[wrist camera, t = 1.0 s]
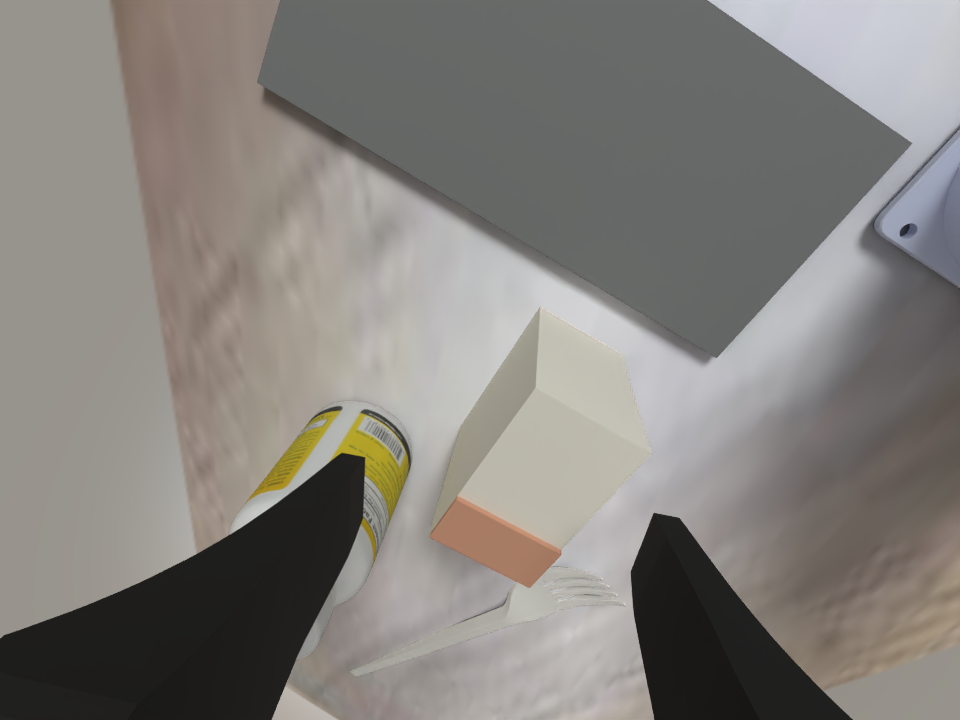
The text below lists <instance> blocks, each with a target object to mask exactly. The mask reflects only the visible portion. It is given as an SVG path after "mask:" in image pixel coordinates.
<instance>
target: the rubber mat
mask: <svg viewBox="0 0 960 720" xmlns="http://www.w3.org/2000/svg"><path fill="white" fill-rule="evenodd" d="M257 83H259V84H260V85H262V86H264V87H265V88H267V89H269V90H270V91H272V92H274V93H275V94H277V95H279V96H280V97H282V98H284V99H285V100H287V101H289V102H290V103H292V104H294V105H295V106H297V107H299V108H300V109H302V110H304V111H305V112H307V113H309V114H310V115H312V116H314V117H315V118H317V119H319V120H320V121H322V122H324V123H325V124H327V125H329V126H330V127H332V128H334V129H335V130H337V131H339V132H340V133H342V134H344V135H345V136H347V137H349V138H350V139H352V140H354V141H355V142H357V143H359V144H360V145H362V146H364V147H365V148H367V149H369V150H370V151H372V152H374V153H375V154H377V155H379V156H380V157H382V158H384V159H385V160H387V161H389V162H390V163H392V164H394V165H395V166H397V167H399V168H400V169H402V170H404V171H405V172H407V173H409V174H410V175H412V176H414V177H415V178H417V179H419V180H420V181H422V182H424V183H425V184H427V185H429V186H430V187H432V188H434V189H435V190H437V191H439V192H440V193H442V194H444V195H445V196H447V197H449V198H450V199H452V200H454V201H455V202H457V203H459V204H460V205H462V206H464V207H465V208H467V209H469V210H470V211H472V212H474V213H475V214H477V215H479V216H480V217H482V218H484V219H485V220H487V221H489V222H490V223H492V224H494V225H495V226H497V227H499V228H500V229H502V230H504V231H505V232H507V233H509V234H510V235H512V236H514V237H515V238H517V239H519V240H520V241H522V242H524V243H525V244H527V245H529V246H530V247H532V248H534V249H535V250H537V251H539V252H540V253H542V254H544V255H545V256H547V257H549V258H550V259H552V260H554V261H555V262H557V263H559V264H560V265H562V266H564V267H565V268H567V269H569V270H570V271H572V272H574V273H575V274H577V275H579V276H580V277H582V278H584V279H585V280H587V281H589V282H590V283H592V284H594V285H595V286H597V287H599V288H600V289H602V290H604V291H605V292H607V293H609V294H610V295H612V296H614V297H615V298H617V299H619V300H620V301H622V302H624V303H625V304H627V305H629V306H630V307H632V308H634V309H635V310H637V311H639V312H640V313H642V314H644V315H645V316H647V317H649V318H650V319H652V320H654V321H655V322H657V323H659V324H661V325H662V326H664V327H666V328H667V329H669V330H671V331H672V332H674V333H676V334H677V335H679V336H681V337H682V338H684V339H686V340H687V341H689V342H691V343H692V344H694V345H696V346H697V347H699V348H701V349H702V350H704V351H706V352H707V353H709V354H711V355H712V356H714V357H716V358H717V357H718V356H719V355H720V354H721V353H722V352H723V351H724V350H725V348H726V347H727V346H728V345H729V344H730V343H731V342H732V341H733V340H734V339H735V337H736V336H737V335H738V334H739V333H740V332H741V331H742V330H743V329H744V328H745V327H746V325H747V324H748V323H749V322H750V321H751V320H752V319H753V318H754V317H755V316H756V314H757V313H758V312H759V311H760V310H761V309H762V308H763V307H764V306H765V305H766V303H767V302H768V301H769V300H770V299H771V298H772V297H773V296H774V295H775V294H776V292H777V291H778V290H779V289H780V288H781V287H782V286H783V285H784V284H785V283H786V282H787V280H788V279H789V278H790V277H791V276H792V275H793V274H794V273H795V272H796V271H797V269H798V268H799V267H800V266H801V265H802V264H803V263H804V262H805V261H806V260H807V258H808V257H809V256H810V255H811V254H812V253H813V252H814V251H815V250H816V249H817V247H818V246H819V245H820V244H821V243H822V242H823V241H824V240H825V239H826V238H827V237H828V235H829V234H830V233H831V232H832V231H833V230H834V229H835V228H836V227H837V226H838V224H839V223H840V222H841V221H842V220H843V219H844V218H845V217H846V216H847V215H848V213H849V212H850V211H851V210H852V209H853V208H854V207H855V206H856V205H857V204H858V202H859V201H860V200H861V199H862V198H863V197H864V196H865V195H866V194H867V193H868V192H869V190H870V189H871V188H872V187H873V186H874V185H875V184H876V183H877V182H878V181H879V179H880V178H881V177H882V176H883V175H884V174H885V173H886V172H887V171H888V170H889V168H890V167H891V166H892V165H893V164H894V163H895V162H896V161H897V160H898V159H899V157H900V156H901V155H902V154H903V153H904V152H905V151H906V150H907V149H908V148H909V147H910V145H911V144H912V143H911V142H910V141H908V140H907V139H905V138H904V137H902V136H901V135H900V134H898V133H897V132H895V131H894V130H892V129H891V128H889V127H888V126H887V125H885V124H884V123H882V122H881V121H879V120H878V119H877V118H875V117H874V116H872V115H871V114H869V113H868V112H867V111H865V110H864V109H862V108H861V107H859V106H858V105H857V104H855V103H854V102H852V101H851V100H849V99H848V98H846V97H845V96H844V95H842V94H841V93H839V92H838V91H836V90H835V89H834V88H832V87H831V86H829V85H828V84H826V83H825V82H824V81H822V80H821V79H819V78H818V77H816V76H815V75H813V74H812V73H811V72H809V71H808V70H806V69H805V68H803V67H802V66H801V65H799V64H798V63H796V62H795V61H793V60H792V59H791V58H789V57H788V56H786V55H785V54H783V53H782V52H781V51H779V50H778V49H776V48H775V47H773V46H772V45H770V44H769V43H768V42H766V41H765V40H763V39H762V38H760V37H759V36H758V35H756V34H755V33H753V32H752V31H750V30H749V29H748V28H746V27H745V26H743V25H742V24H740V23H739V22H738V21H736V20H735V19H733V18H732V17H730V16H729V15H727V14H726V13H725V12H723V11H722V10H720V9H719V8H717V7H716V6H715V5H713V4H712V3H710V2H709V1H707V0H280V3H279V6H278V10H277V14H276V17H275V21H274V24H273V28H272V31H271V35H270V38H269V42H268V45H267V49H266V52H265V56H264V59H263V63H262V67H261V70H260V74H259V77H258V81H257Z"/></svg>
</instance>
